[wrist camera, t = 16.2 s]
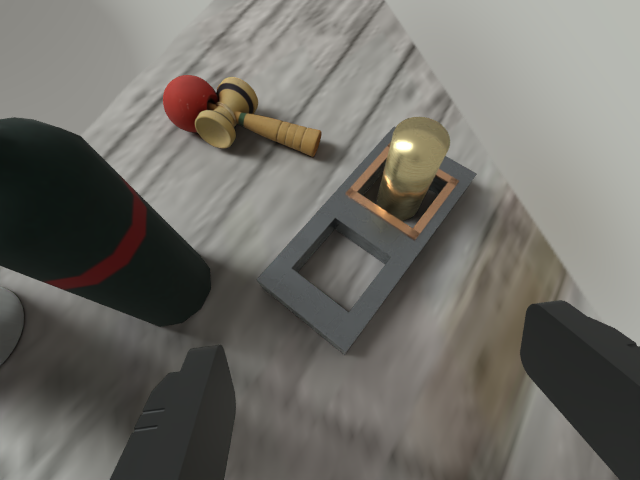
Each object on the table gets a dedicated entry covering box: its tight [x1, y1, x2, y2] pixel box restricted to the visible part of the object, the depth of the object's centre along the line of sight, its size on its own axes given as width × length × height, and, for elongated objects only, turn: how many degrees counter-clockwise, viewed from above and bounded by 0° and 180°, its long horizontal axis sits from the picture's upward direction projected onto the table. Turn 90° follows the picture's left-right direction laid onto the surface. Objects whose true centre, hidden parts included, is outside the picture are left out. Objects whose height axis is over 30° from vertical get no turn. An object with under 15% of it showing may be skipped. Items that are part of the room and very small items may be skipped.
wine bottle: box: [0, 118, 211, 327], centre depth 20 cm, size 8×10×30 cm
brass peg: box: [377, 117, 450, 221], centre depth 32 cm, size 4×4×10 cm
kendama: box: [163, 75, 321, 157], centre depth 39 cm, size 8×6×18 cm
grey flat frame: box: [257, 127, 476, 355], centre depth 34 cm, size 10×22×3 cm, turn 141°
